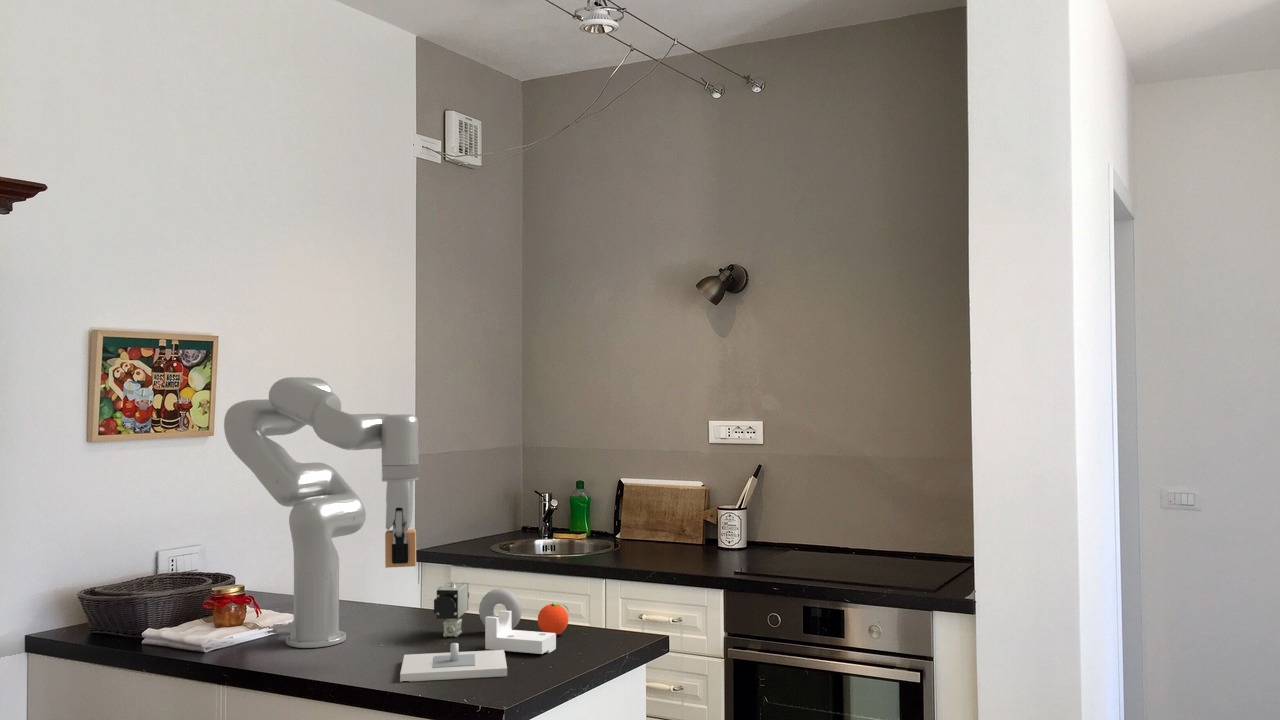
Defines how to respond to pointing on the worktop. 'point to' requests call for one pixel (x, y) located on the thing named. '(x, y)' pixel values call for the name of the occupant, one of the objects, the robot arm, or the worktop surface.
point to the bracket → (515, 636)
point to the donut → (500, 598)
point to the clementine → (553, 618)
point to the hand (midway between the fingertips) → (400, 560)
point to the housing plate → (453, 665)
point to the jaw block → (411, 549)
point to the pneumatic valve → (451, 606)
